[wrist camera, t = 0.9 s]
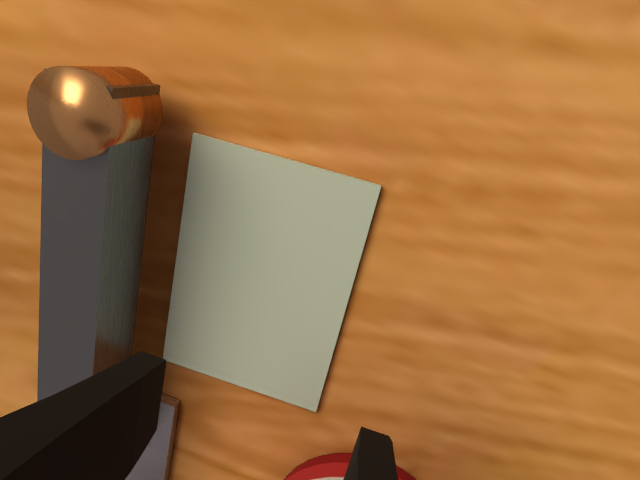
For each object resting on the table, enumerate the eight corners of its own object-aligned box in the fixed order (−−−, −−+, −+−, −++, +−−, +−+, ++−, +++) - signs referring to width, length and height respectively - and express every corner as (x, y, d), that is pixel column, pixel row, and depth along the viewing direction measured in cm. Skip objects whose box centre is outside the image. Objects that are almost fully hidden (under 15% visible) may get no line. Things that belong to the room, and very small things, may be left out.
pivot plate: (165, 495, 24) (156, 510, 23) (57, 454, 25) (44, 467, 24) (180, 400, 22) (170, 413, 21) (61, 358, 23) (47, 369, 22)
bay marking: (316, 409, 21) (315, 412, 20) (164, 357, 21) (162, 359, 21) (381, 185, 17) (381, 186, 17) (195, 132, 18) (192, 133, 18)
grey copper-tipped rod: (126, 477, 23) (77, 542, 20) (72, 457, 23) (15, 518, 20) (171, 78, 16) (108, 80, 13) (94, 57, 16) (15, 54, 13)
